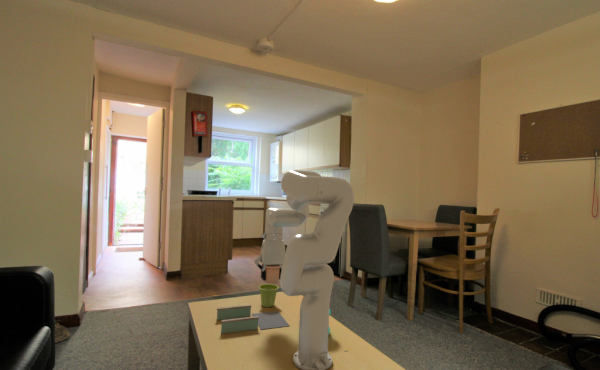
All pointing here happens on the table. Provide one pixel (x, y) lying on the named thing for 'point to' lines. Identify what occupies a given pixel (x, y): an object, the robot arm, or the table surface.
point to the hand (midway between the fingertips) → (271, 279)
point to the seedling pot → (272, 273)
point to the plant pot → (268, 294)
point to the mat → (270, 320)
